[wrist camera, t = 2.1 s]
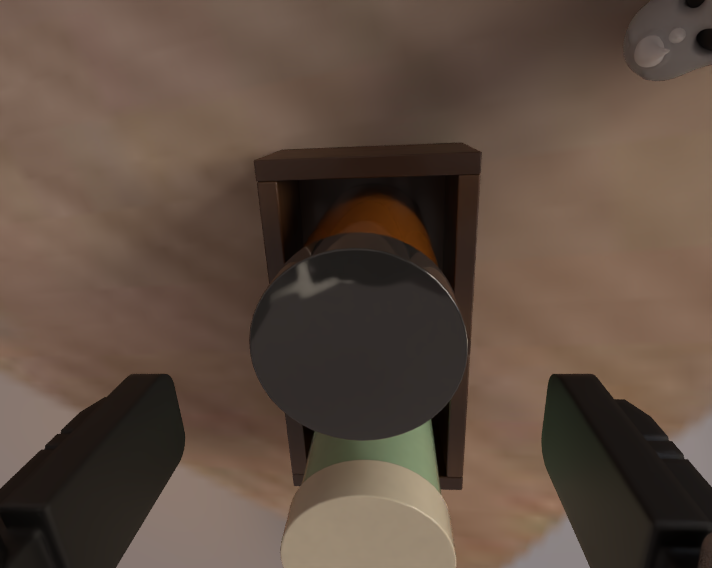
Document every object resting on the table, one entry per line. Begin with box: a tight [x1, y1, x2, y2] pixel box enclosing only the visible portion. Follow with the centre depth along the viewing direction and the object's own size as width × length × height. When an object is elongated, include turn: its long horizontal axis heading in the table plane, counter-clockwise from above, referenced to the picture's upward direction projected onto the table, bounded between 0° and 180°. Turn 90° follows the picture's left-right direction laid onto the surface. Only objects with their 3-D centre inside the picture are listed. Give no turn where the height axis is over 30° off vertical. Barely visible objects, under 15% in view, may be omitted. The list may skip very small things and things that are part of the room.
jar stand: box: [254, 143, 482, 490], centre depth 21 cm, size 16×8×5 cm, turn 3°
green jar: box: [280, 419, 456, 568], centre depth 19 cm, size 6×6×11 cm
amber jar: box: [249, 184, 468, 441], centre depth 16 cm, size 6×6×11 cm
